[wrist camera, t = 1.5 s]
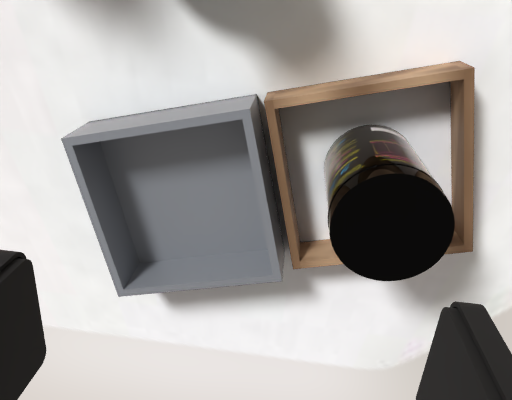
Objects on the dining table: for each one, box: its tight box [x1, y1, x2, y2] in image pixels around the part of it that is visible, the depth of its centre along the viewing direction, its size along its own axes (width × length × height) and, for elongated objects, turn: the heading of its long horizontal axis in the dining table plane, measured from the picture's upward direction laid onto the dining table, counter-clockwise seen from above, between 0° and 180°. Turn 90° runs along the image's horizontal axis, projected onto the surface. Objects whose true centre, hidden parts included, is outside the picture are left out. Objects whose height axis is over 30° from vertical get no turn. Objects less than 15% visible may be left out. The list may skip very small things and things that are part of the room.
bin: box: [61, 94, 285, 297], centre depth 35 cm, size 13×13×4 cm
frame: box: [264, 61, 474, 269], centre depth 33 cm, size 13×13×3 cm
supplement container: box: [324, 125, 455, 281], centre depth 30 cm, size 7×7×10 cm
